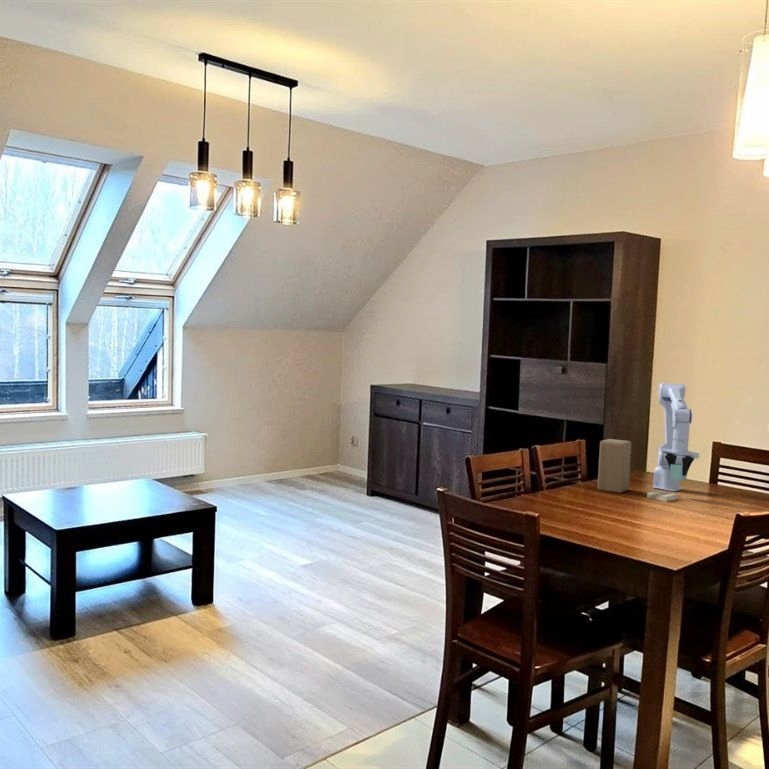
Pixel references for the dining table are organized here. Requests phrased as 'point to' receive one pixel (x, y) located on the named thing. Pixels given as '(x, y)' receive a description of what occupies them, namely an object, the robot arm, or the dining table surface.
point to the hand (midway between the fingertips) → (678, 474)
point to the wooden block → (614, 465)
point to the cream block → (662, 496)
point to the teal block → (677, 472)
